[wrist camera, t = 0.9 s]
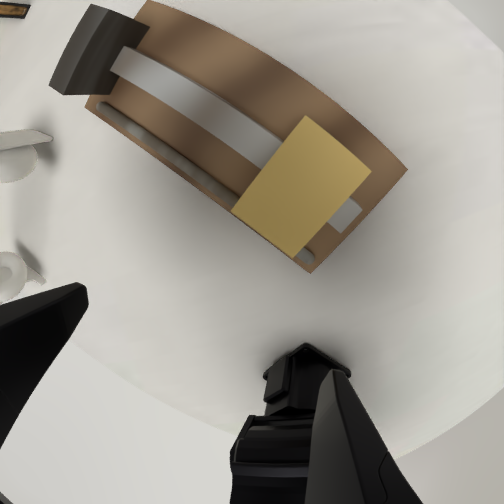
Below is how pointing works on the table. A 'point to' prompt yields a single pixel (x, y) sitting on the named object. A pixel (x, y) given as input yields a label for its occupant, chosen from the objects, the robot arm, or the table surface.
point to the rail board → (255, 99)
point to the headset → (9, 170)
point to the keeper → (300, 187)
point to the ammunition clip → (13, 10)
